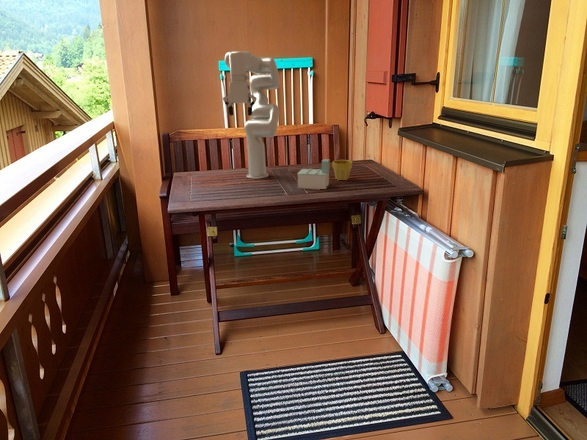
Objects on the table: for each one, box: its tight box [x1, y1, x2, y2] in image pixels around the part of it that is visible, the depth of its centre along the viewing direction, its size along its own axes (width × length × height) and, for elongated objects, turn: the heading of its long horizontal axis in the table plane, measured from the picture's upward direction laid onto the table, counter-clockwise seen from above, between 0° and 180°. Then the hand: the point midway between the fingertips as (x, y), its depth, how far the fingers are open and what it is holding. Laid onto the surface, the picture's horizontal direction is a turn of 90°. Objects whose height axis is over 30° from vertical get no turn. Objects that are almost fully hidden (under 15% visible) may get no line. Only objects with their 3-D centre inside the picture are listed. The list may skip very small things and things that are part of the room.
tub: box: [297, 172, 330, 190], centre depth 233 cm, size 10×14×7 cm
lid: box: [296, 158, 330, 176], centre depth 231 cm, size 10×15×8 cm
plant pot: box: [331, 159, 353, 181], centre depth 245 cm, size 10×10×10 cm
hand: (240, 115), depth 225 cm, fingers open, 9 cm apart
